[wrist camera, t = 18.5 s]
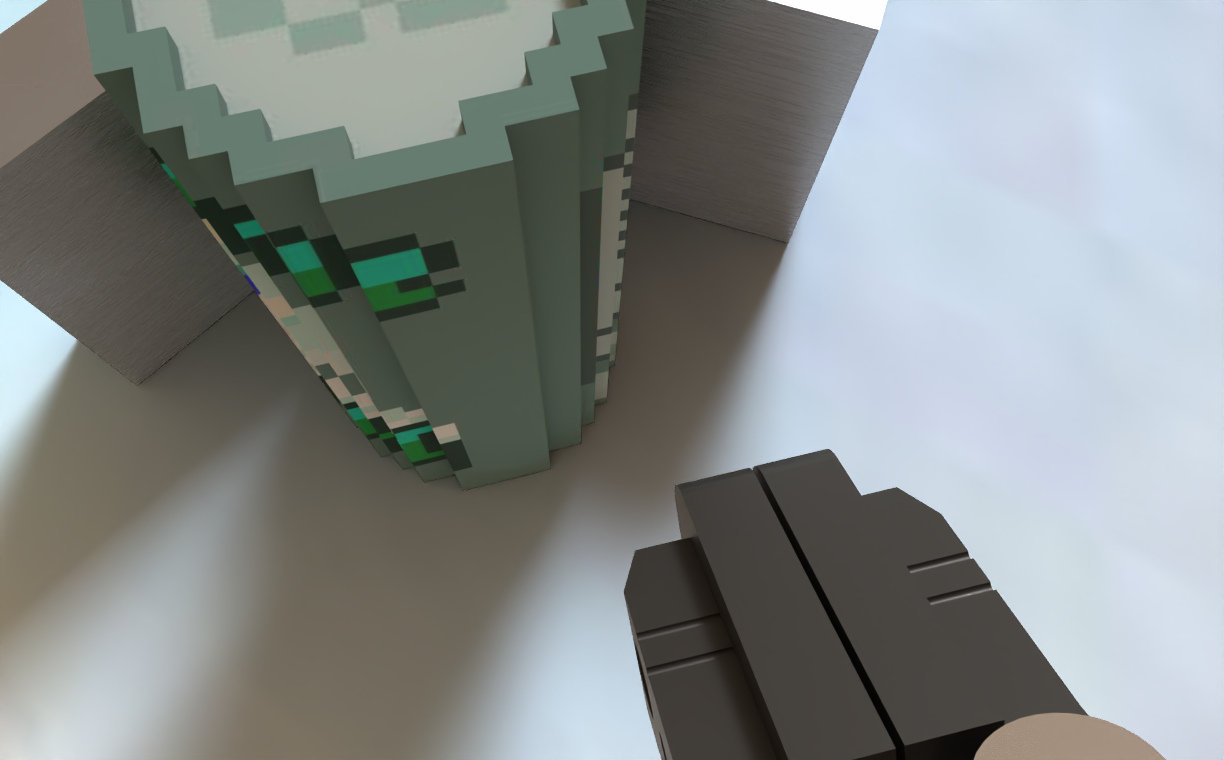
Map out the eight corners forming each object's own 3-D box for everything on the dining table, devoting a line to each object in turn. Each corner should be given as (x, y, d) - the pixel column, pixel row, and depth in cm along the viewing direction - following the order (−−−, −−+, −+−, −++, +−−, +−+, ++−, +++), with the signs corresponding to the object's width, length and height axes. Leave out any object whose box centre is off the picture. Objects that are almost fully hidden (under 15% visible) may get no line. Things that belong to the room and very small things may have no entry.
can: (323, 267, 28) (47, -229, 13) (572, 210, 28) (561, -323, 14) (374, 512, 26) (120, 247, 12) (636, 447, 27) (700, 118, 12)
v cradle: (827, 234, 28) (935, 17, 20) (92, 395, 27) (-141, 236, 18) (739, -43, 31) (801, -347, 22) (55, 91, 29) (-169, -181, 20)
